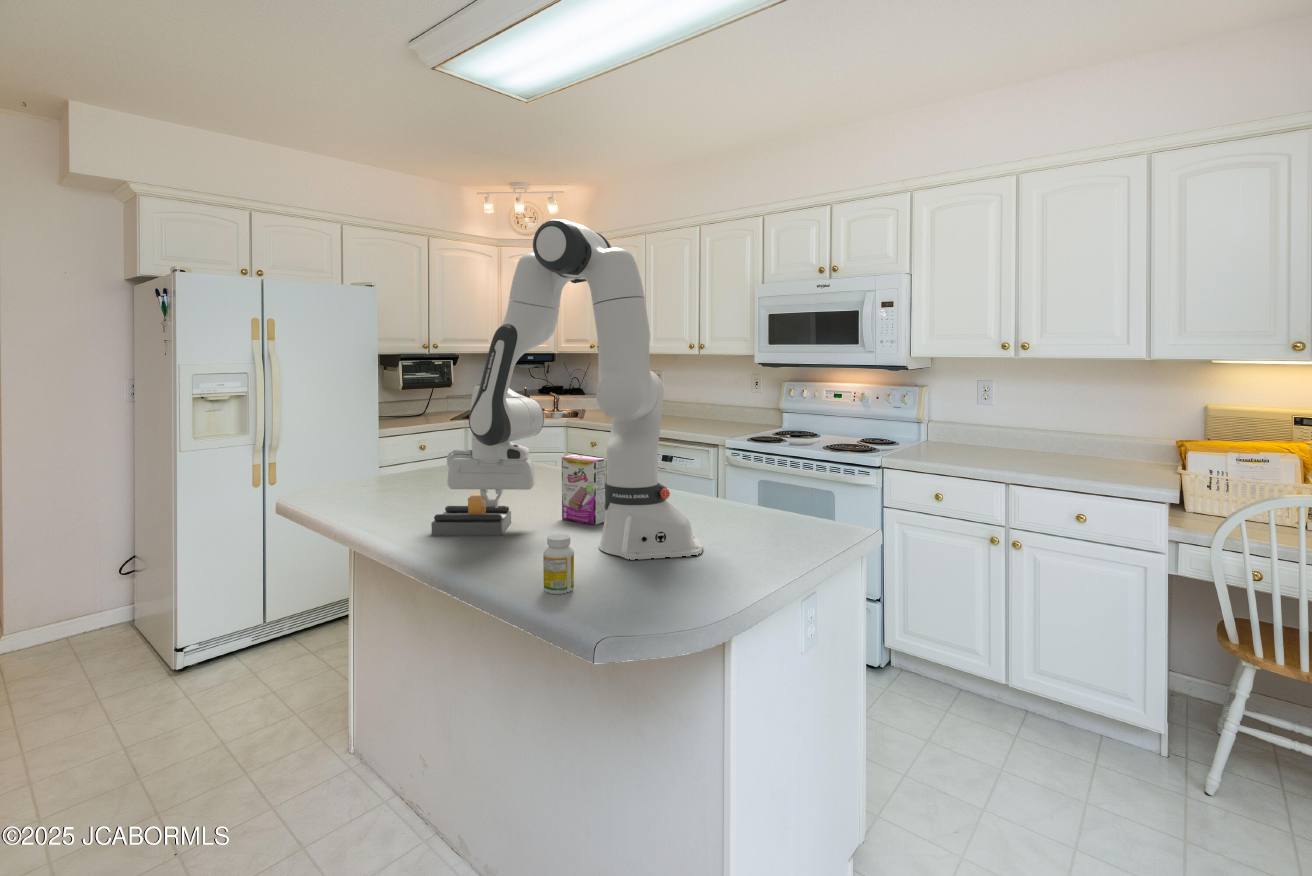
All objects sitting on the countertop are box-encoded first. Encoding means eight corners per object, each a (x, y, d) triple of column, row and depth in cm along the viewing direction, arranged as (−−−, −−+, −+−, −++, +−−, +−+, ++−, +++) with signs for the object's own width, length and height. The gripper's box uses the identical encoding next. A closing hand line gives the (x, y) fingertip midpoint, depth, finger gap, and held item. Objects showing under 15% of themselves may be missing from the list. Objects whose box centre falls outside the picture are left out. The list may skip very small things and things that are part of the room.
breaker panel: (511, 522, 160) (511, 504, 160) (501, 535, 148) (501, 516, 148) (446, 522, 159) (445, 504, 159) (431, 535, 148) (431, 516, 147)
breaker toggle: (485, 512, 156) (485, 494, 156) (481, 517, 151) (480, 498, 151) (473, 512, 156) (473, 494, 155) (468, 517, 151) (467, 498, 150)
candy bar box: (560, 519, 164) (560, 456, 162) (573, 516, 168) (573, 454, 166) (595, 526, 158) (595, 460, 156) (607, 522, 162) (607, 457, 160)
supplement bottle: (557, 597, 109) (556, 542, 108) (537, 590, 113) (536, 537, 112) (580, 589, 114) (580, 536, 112) (560, 582, 117) (560, 531, 116)
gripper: (442, 451, 148) (444, 510, 150) (531, 452, 149) (532, 510, 151) (450, 448, 155) (451, 504, 156) (535, 448, 155) (536, 504, 157)
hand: (492, 507), depth 154 cm, fingers closed
